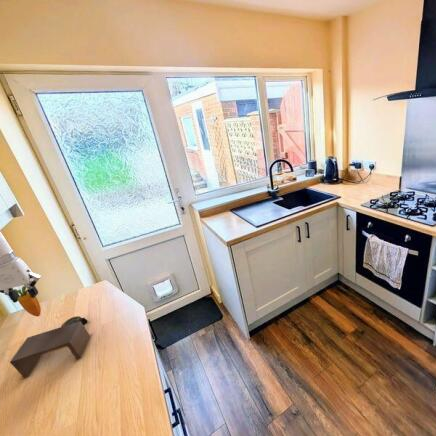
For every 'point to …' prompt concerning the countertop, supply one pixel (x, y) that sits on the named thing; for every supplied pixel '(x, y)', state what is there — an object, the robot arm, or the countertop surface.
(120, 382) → the countertop surface
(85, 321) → the tape measure
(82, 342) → the dark brown riser stand
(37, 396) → the countertop surface
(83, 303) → the countertop surface
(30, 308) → the carrot
